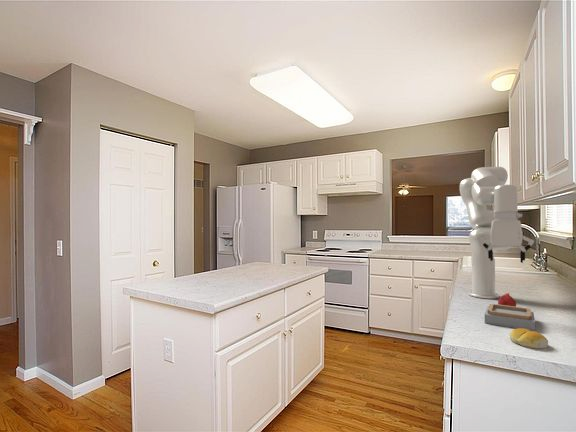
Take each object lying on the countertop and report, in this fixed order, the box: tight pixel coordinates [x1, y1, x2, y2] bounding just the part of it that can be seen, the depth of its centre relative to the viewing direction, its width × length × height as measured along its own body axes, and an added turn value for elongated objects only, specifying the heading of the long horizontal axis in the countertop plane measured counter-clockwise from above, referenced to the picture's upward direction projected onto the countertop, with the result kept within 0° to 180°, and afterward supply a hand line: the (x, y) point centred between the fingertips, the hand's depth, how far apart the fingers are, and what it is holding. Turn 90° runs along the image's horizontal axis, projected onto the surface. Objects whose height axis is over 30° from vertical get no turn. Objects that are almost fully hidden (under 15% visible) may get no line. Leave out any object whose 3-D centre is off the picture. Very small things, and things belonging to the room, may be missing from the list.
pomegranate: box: [497, 292, 517, 307], centre depth 125 cm, size 6×6×8 cm
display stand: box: [484, 303, 536, 332], centre depth 115 cm, size 14×14×4 cm
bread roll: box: [509, 328, 549, 350], centre depth 95 cm, size 8×9×4 cm
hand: (506, 261), depth 125 cm, fingers open, 9 cm apart
